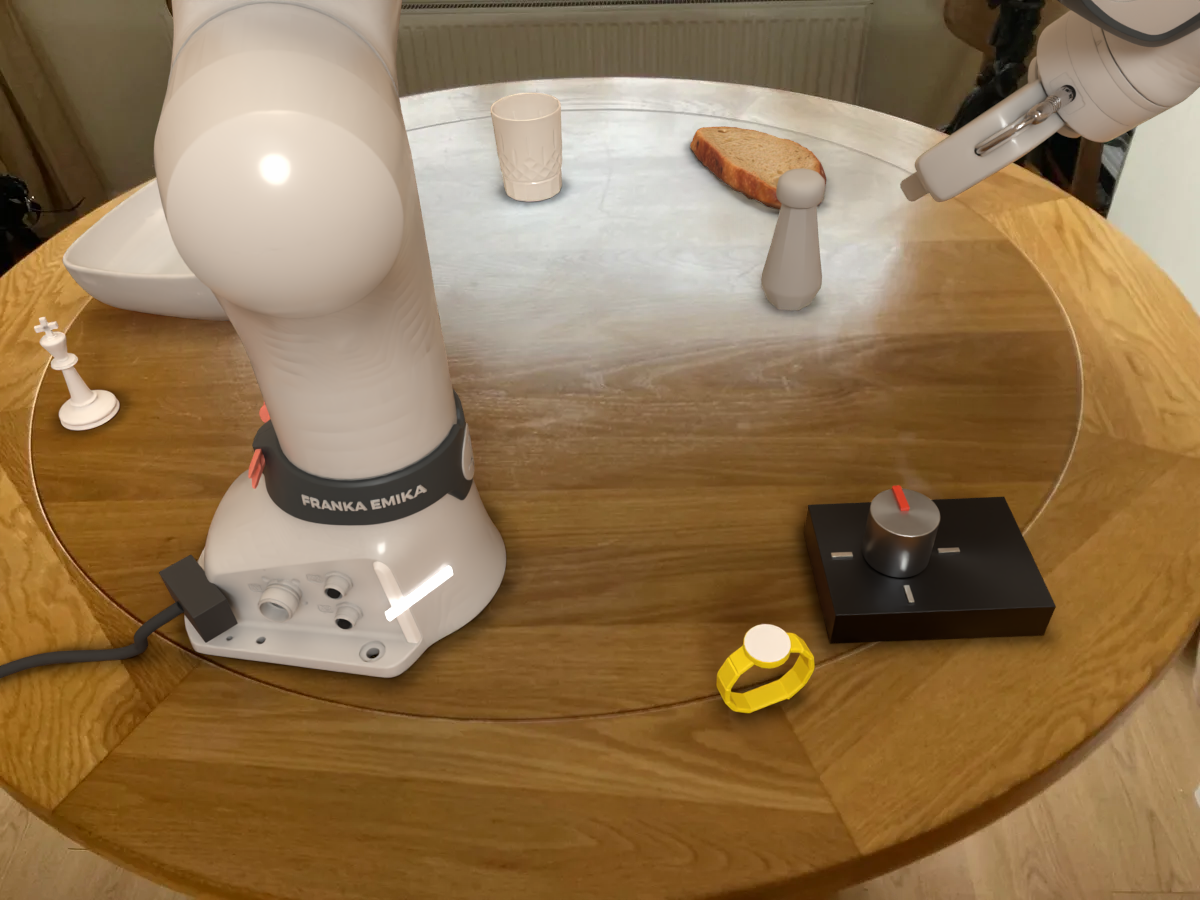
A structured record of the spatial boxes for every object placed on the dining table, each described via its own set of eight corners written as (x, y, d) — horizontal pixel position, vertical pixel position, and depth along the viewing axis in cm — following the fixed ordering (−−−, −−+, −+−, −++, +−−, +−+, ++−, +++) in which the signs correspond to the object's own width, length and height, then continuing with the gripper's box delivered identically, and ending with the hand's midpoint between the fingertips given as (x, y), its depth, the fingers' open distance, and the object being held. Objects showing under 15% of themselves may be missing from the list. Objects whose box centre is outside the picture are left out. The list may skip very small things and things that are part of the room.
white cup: (486, 189, 114) (476, 107, 107) (538, 168, 118) (530, 86, 111) (528, 211, 109) (520, 126, 103) (580, 188, 113) (575, 104, 106)
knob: (937, 575, 63) (950, 530, 60) (871, 580, 63) (881, 535, 60) (917, 527, 66) (928, 482, 64) (854, 531, 66) (863, 487, 64)
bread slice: (696, 136, 122) (697, 107, 120) (839, 149, 118) (843, 120, 115) (658, 201, 110) (658, 170, 107) (817, 219, 105) (820, 187, 103)
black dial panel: (830, 644, 63) (835, 613, 61) (803, 533, 71) (807, 502, 69) (1043, 635, 63) (1057, 605, 61) (994, 525, 70) (1004, 494, 68)
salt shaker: (818, 318, 91) (834, 192, 82) (757, 314, 92) (767, 188, 83) (820, 285, 95) (835, 162, 87) (762, 281, 96) (771, 159, 88)
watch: (795, 667, 62) (804, 609, 58) (816, 702, 60) (827, 644, 56) (709, 695, 61) (713, 637, 57) (728, 732, 59) (733, 674, 55)
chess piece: (61, 403, 86) (11, 310, 80) (119, 389, 87) (74, 296, 81) (59, 436, 83) (7, 341, 76) (119, 421, 84) (73, 327, 77)
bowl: (68, 328, 95) (34, 261, 90) (181, 227, 110) (157, 164, 105) (253, 350, 91) (228, 281, 86) (345, 242, 106) (328, 177, 101)
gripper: (1056, 165, 58) (890, 255, 70) (1183, 65, 69) (1020, 158, 81) (1003, 75, 58) (845, 181, 70) (1140, -12, 68) (982, 93, 80)
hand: (940, 168), depth 75 cm, fingers open, 8 cm apart
